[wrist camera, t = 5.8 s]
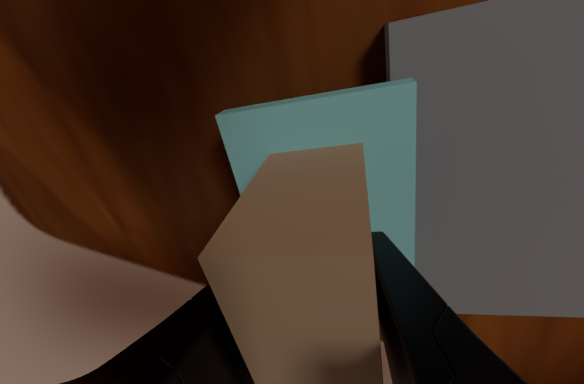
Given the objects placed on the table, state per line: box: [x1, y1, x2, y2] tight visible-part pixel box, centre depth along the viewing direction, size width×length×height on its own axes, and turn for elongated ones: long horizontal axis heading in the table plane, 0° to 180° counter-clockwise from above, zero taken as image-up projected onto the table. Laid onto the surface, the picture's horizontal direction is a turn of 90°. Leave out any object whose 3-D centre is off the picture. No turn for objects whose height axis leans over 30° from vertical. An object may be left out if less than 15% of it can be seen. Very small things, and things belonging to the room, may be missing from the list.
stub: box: [198, 78, 417, 384], centre depth 8 cm, size 6×9×6 cm, turn 11°
